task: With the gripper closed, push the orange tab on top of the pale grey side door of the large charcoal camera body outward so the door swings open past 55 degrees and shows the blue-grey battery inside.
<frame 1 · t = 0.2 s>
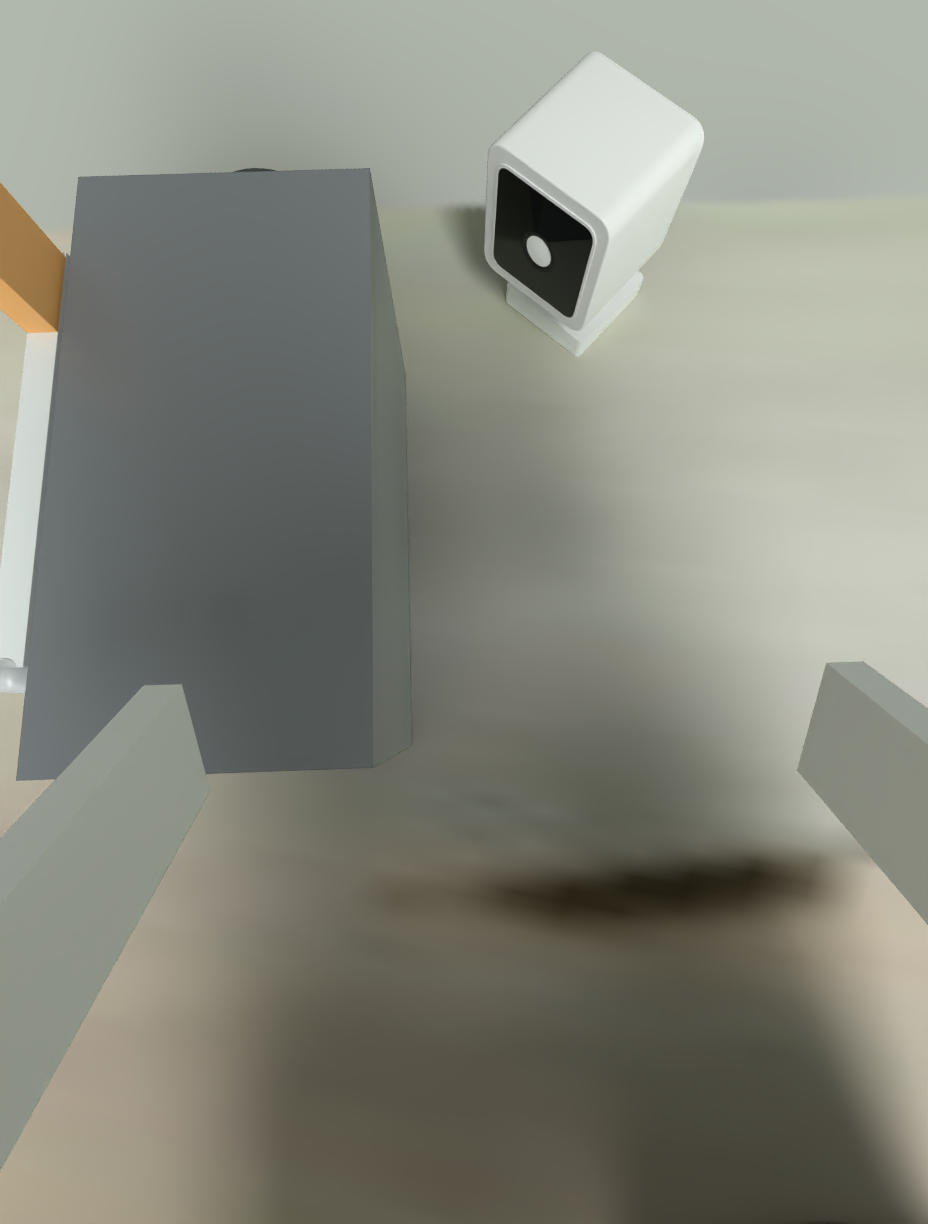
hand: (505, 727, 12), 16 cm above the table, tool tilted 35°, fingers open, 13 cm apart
security camera: (562, 308, 32), on the table
side door: (91, 494, 21), point 9 cm above the table, hinge at 0.0°
camera body: (312, 551, 29), on the table
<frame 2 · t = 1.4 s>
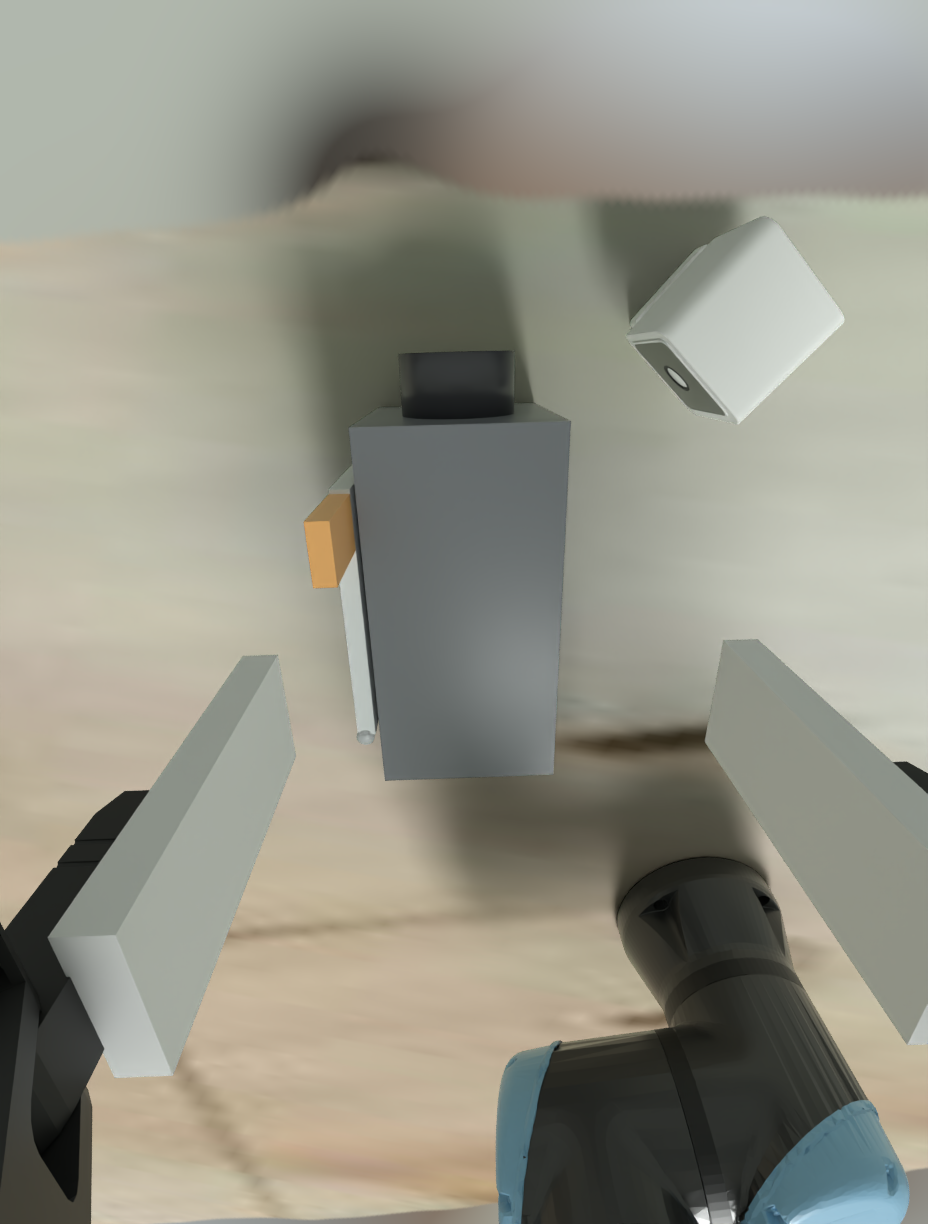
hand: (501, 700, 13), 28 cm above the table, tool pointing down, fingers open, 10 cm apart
security camera: (679, 330, 35), on the table
side door: (362, 606, 32), point 9 cm above the table, hinge at 0.0°
camera body: (460, 553, 40), on the table
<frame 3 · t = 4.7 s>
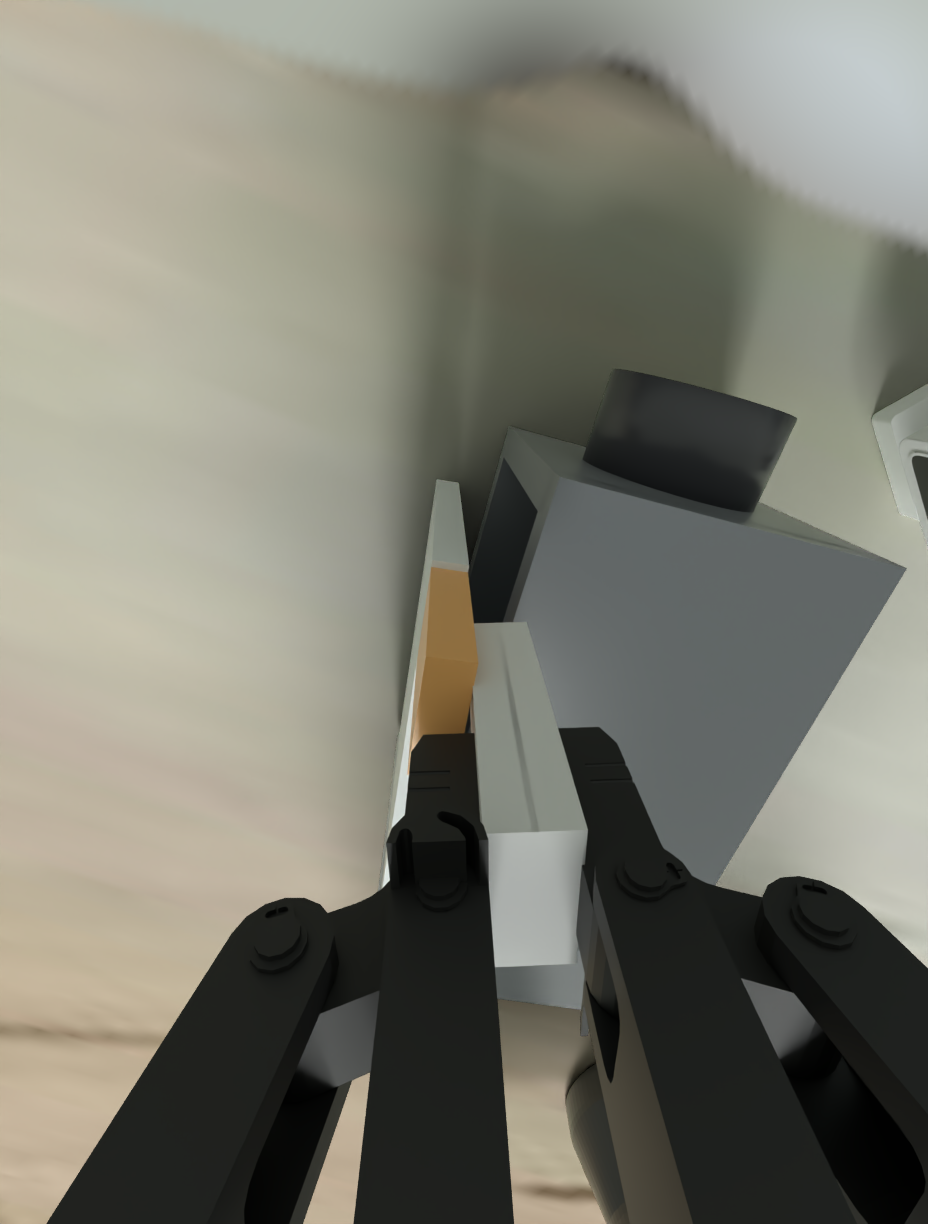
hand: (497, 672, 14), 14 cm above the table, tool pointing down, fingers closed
security camera: (924, 444, 26), on the table
side door: (417, 721, 21), point 9 cm above the table, hinge at 5.2°, touching gripper
camera body: (546, 644, 30), on the table
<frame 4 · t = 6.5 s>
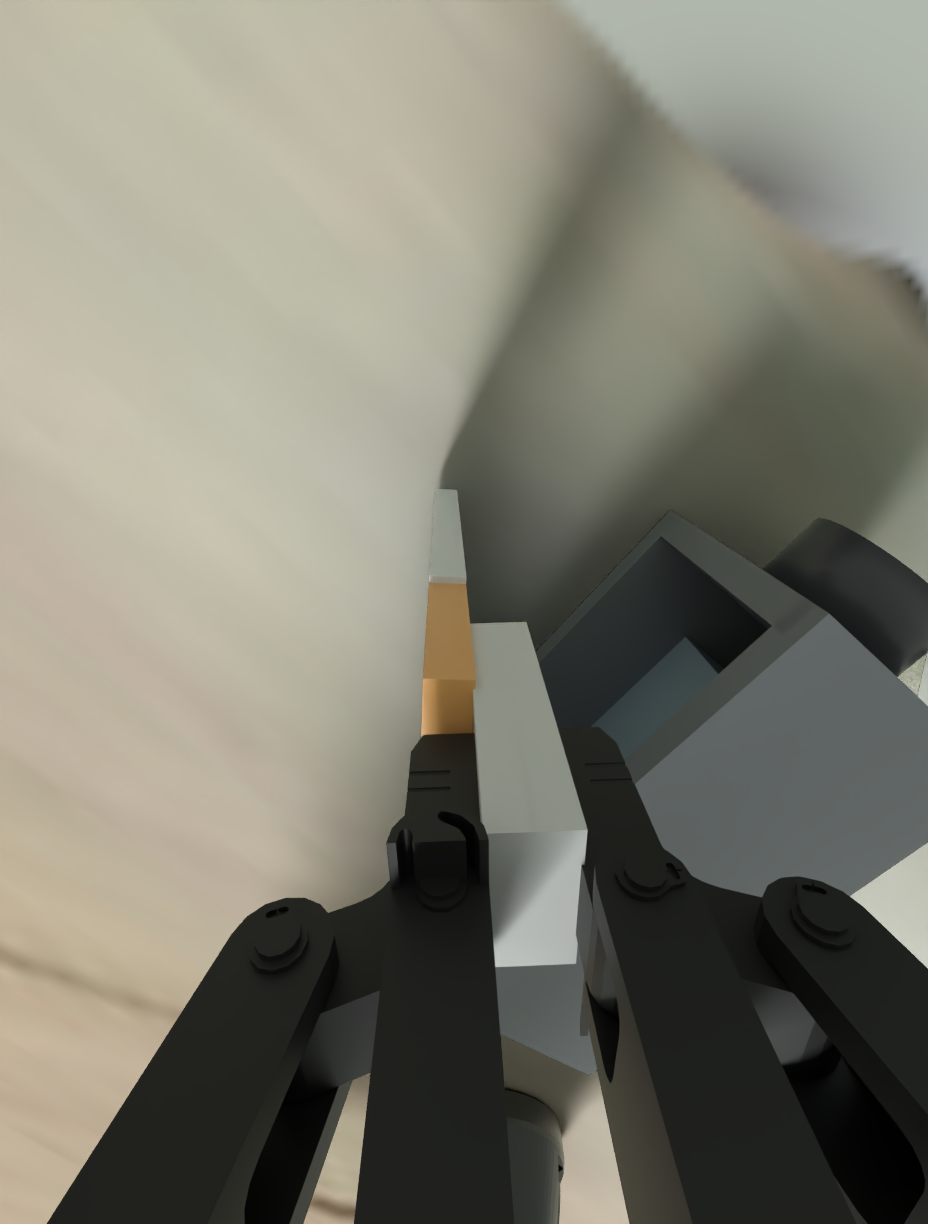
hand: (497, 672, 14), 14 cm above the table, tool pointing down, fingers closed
side door: (436, 733, 21), point 9 cm above the table, hinge at 35.7°, touching gripper
camera body: (598, 706, 31), on the table
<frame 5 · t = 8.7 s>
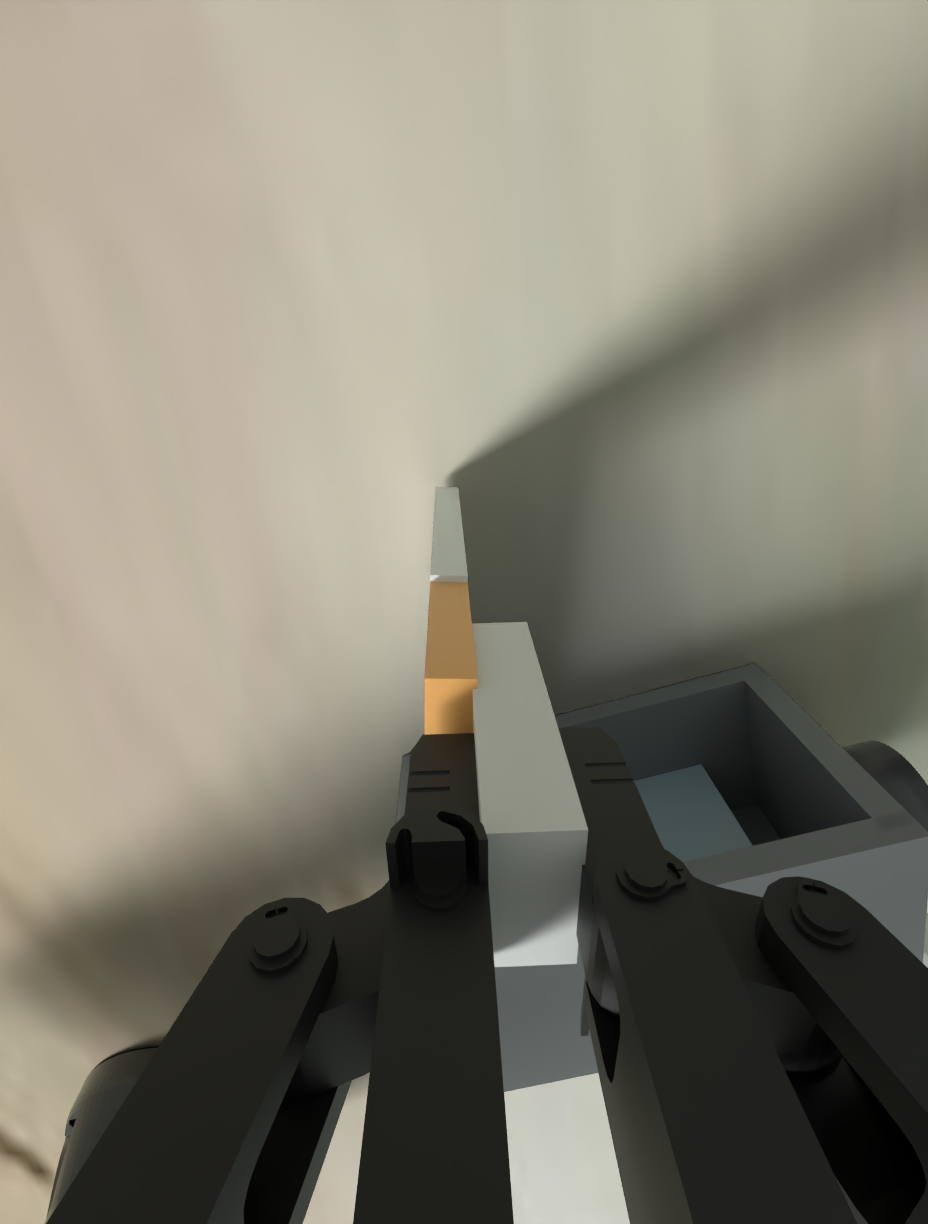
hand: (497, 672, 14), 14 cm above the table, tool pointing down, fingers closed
side door: (443, 731, 21), point 9 cm above the table, hinge at 71.7°, touching camera body, gripper
camera body: (591, 778, 33), on the table
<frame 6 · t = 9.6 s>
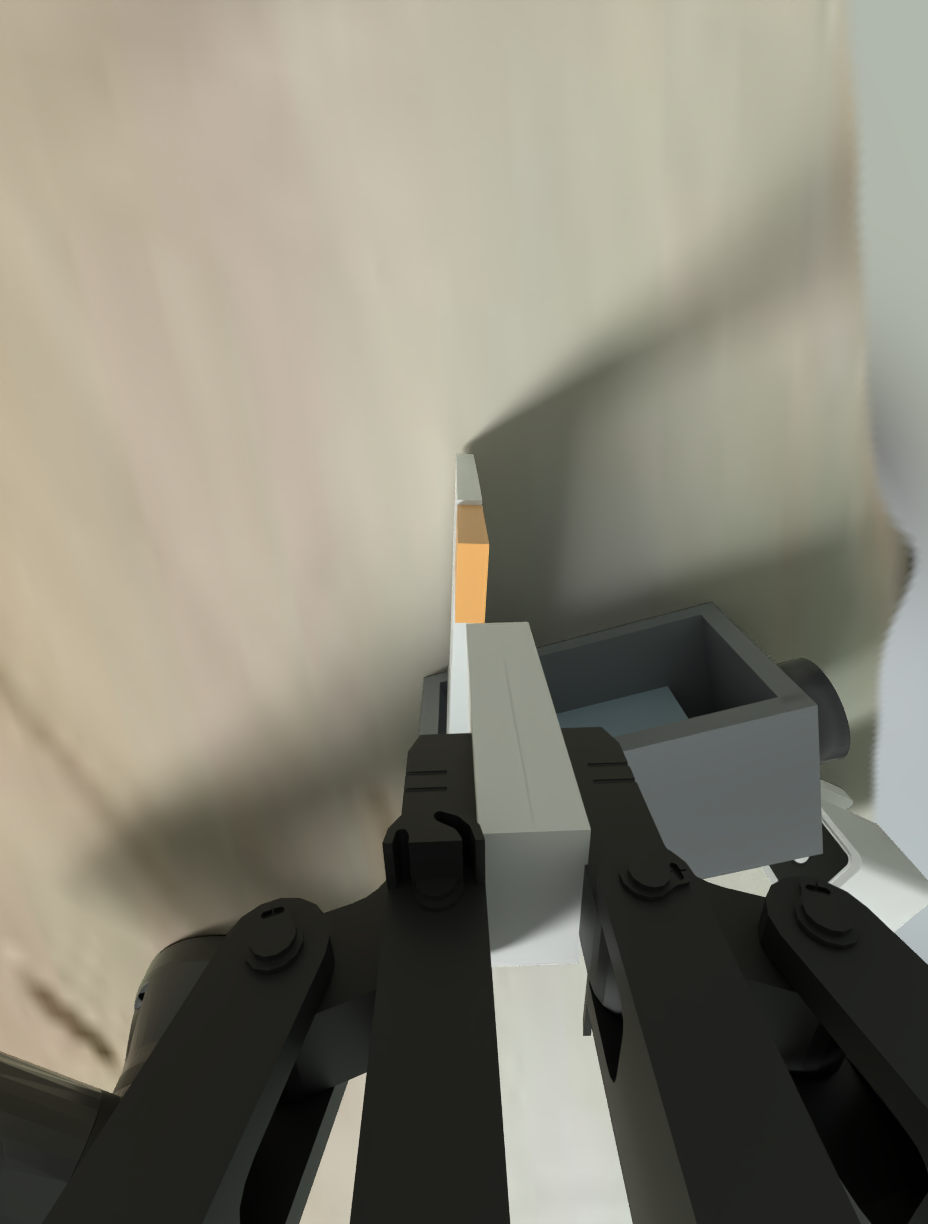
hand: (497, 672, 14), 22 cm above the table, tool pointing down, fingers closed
security camera: (786, 797, 45), on the table
side door: (460, 630, 28), point 9 cm above the table, hinge at 71.4°, touching camera body
camera body: (578, 700, 40), on the table
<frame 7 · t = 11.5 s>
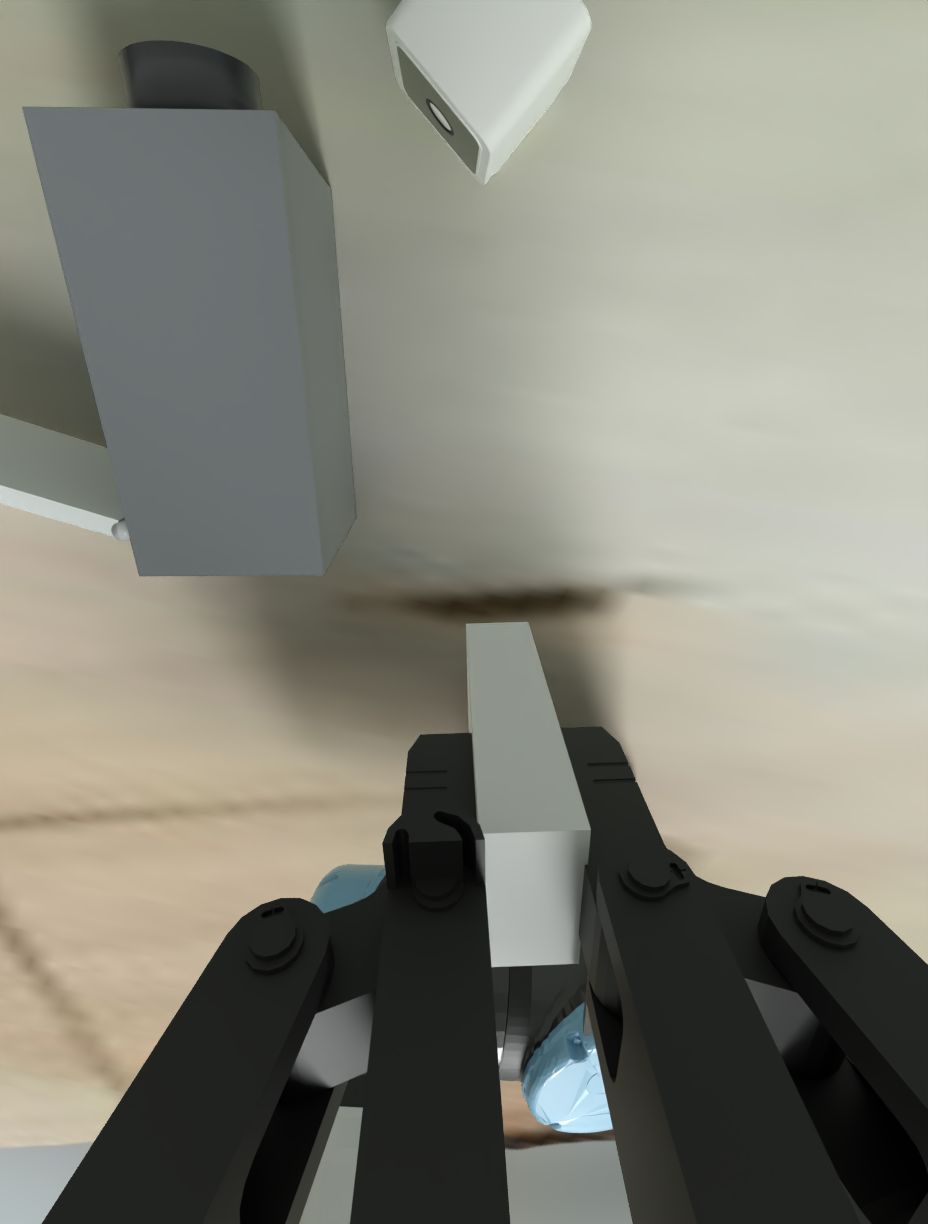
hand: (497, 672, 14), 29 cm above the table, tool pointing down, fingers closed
security camera: (483, 107, 32), on the table
side door: (23, 477, 32), point 9 cm above the table, hinge at 71.3°, touching camera body
camera body: (269, 371, 38), on the table
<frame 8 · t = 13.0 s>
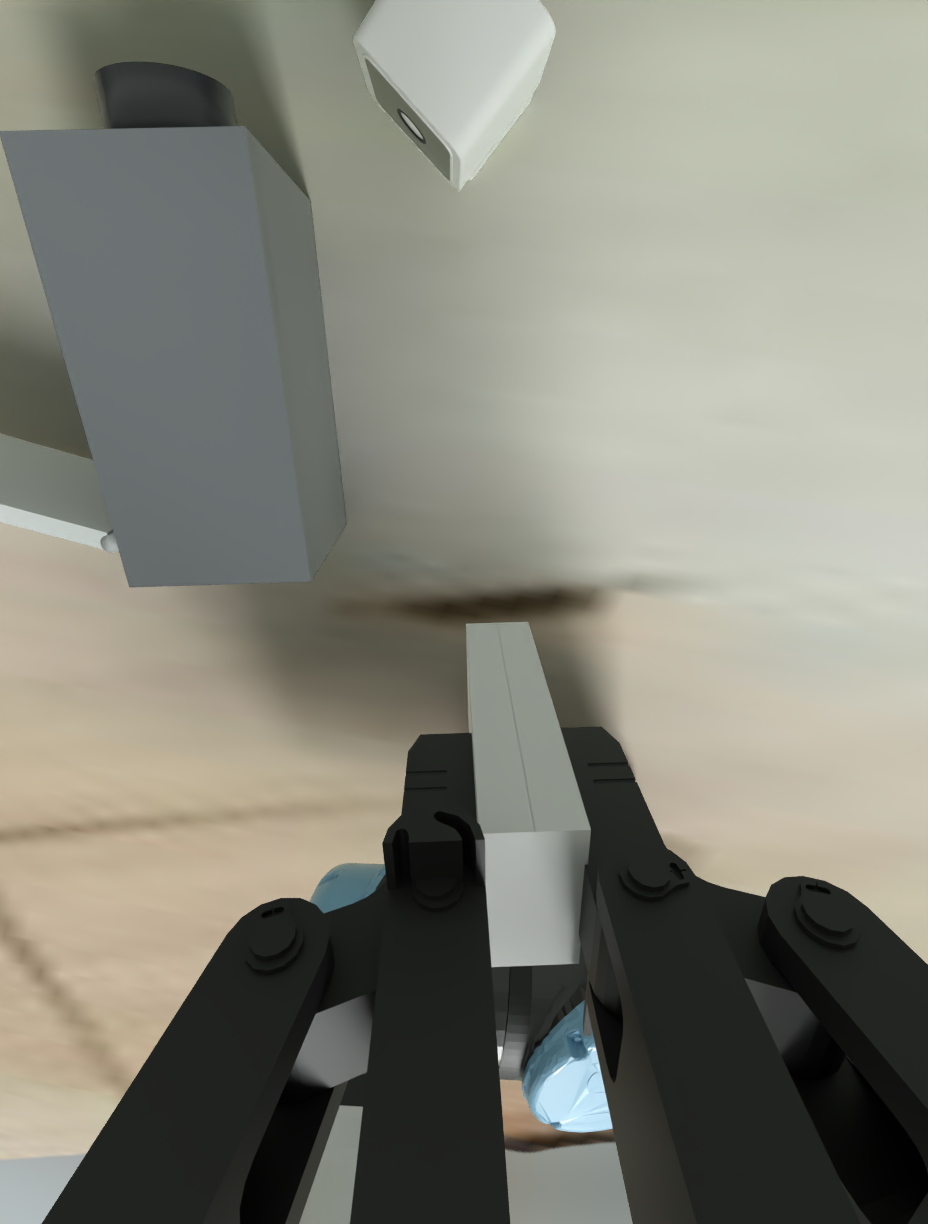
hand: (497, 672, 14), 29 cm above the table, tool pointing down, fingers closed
security camera: (457, 114, 33), on the table
side door: (14, 493, 32), point 9 cm above the table, hinge at 71.3°, touching camera body
camera body: (256, 381, 38), on the table
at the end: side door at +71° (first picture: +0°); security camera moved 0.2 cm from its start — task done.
